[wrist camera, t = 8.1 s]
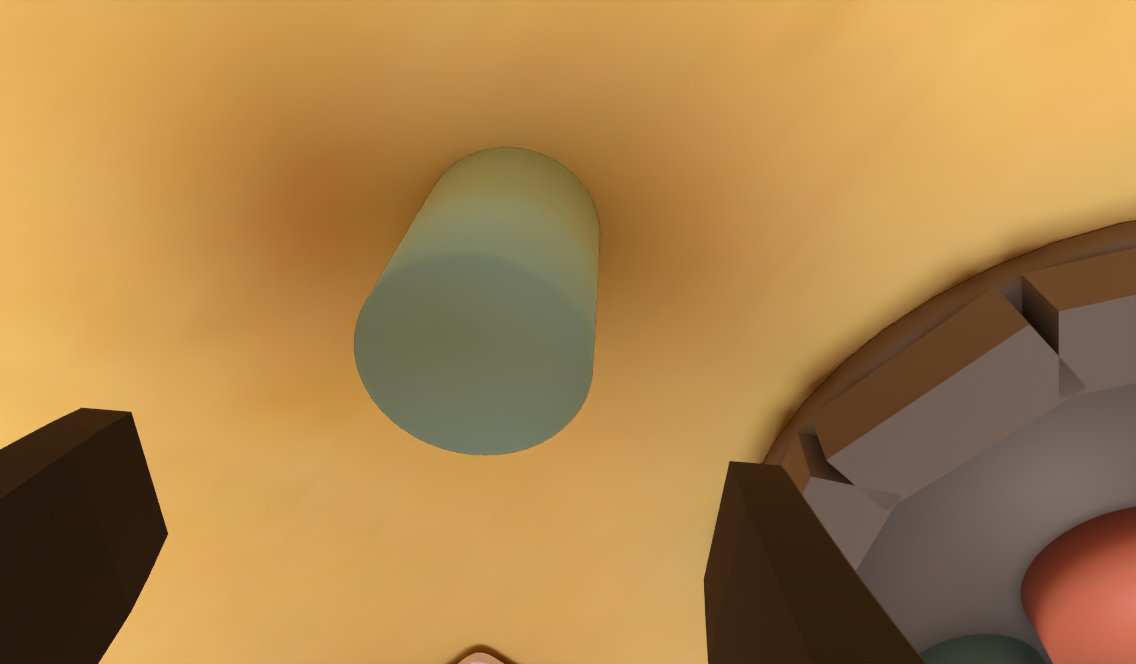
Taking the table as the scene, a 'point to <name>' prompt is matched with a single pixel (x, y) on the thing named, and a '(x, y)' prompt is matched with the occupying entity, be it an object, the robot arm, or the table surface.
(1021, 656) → the pale green cylinder
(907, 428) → the ring tray
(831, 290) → the table surface
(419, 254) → the bead
